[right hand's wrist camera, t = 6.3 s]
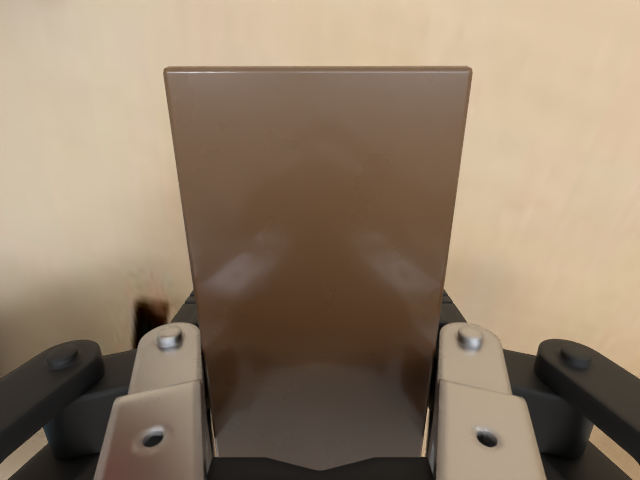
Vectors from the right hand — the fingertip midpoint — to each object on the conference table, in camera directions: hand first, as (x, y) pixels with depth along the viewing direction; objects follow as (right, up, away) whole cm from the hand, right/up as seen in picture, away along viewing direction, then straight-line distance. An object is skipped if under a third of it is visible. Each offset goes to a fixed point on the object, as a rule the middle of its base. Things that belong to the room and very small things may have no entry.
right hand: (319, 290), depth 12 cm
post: (0, -26, +12) cm, 28 cm away
